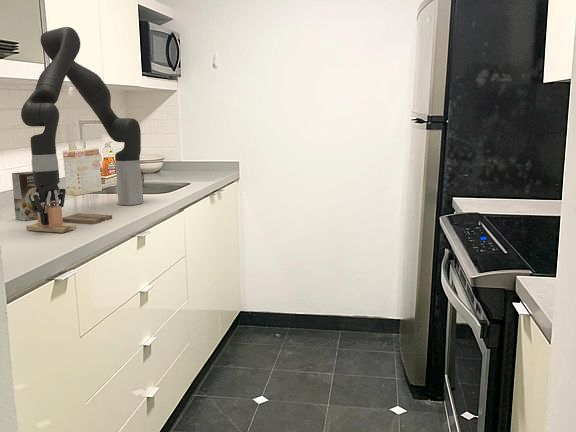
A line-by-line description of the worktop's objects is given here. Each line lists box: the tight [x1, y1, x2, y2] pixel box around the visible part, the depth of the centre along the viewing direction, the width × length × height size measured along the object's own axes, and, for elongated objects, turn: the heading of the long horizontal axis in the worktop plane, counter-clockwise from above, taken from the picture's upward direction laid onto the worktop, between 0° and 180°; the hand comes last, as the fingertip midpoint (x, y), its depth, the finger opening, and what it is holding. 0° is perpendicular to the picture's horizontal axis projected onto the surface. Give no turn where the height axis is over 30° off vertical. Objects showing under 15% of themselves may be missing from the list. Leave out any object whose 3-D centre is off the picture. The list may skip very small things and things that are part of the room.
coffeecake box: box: [62, 147, 103, 196], centre depth 262 cm, size 15×7×20 cm, turn 152°
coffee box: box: [11, 171, 45, 222], centre depth 204 cm, size 9×6×16 cm
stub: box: [25, 204, 77, 234], centre depth 184 cm, size 6×14×7 cm, turn 70°
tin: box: [140, 168, 145, 186], centre depth 277 cm, size 15×3×8 cm, turn 169°
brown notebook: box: [62, 212, 113, 225], centre depth 200 cm, size 10×14×1 cm
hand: (50, 223), depth 184 cm, fingers closed on stub, 4 cm apart
